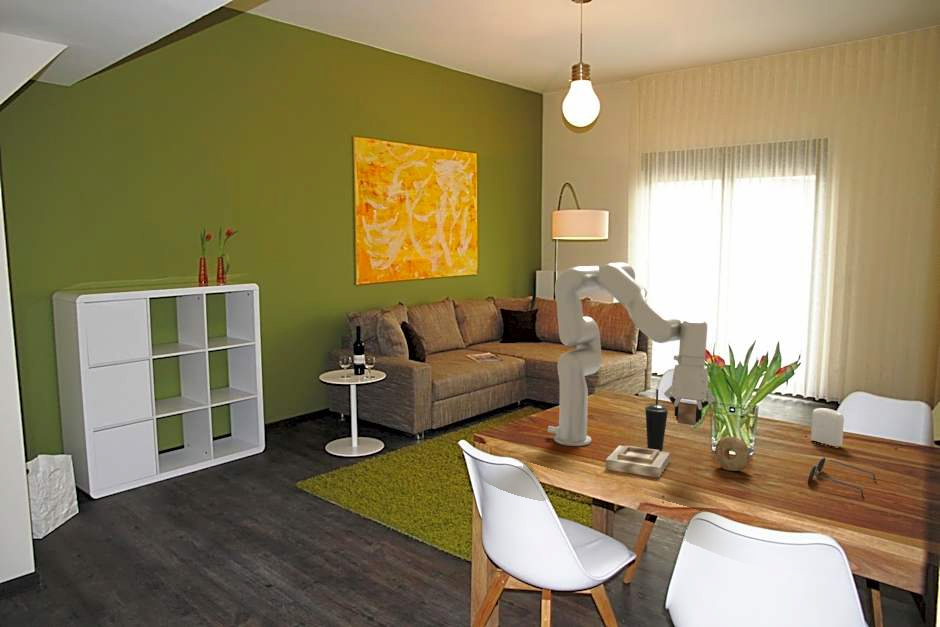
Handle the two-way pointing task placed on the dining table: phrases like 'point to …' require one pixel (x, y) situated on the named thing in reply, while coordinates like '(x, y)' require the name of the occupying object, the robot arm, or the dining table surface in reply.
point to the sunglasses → (819, 468)
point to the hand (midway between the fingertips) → (687, 419)
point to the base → (638, 460)
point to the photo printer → (827, 426)
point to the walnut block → (687, 412)
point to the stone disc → (729, 462)
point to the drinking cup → (656, 424)
